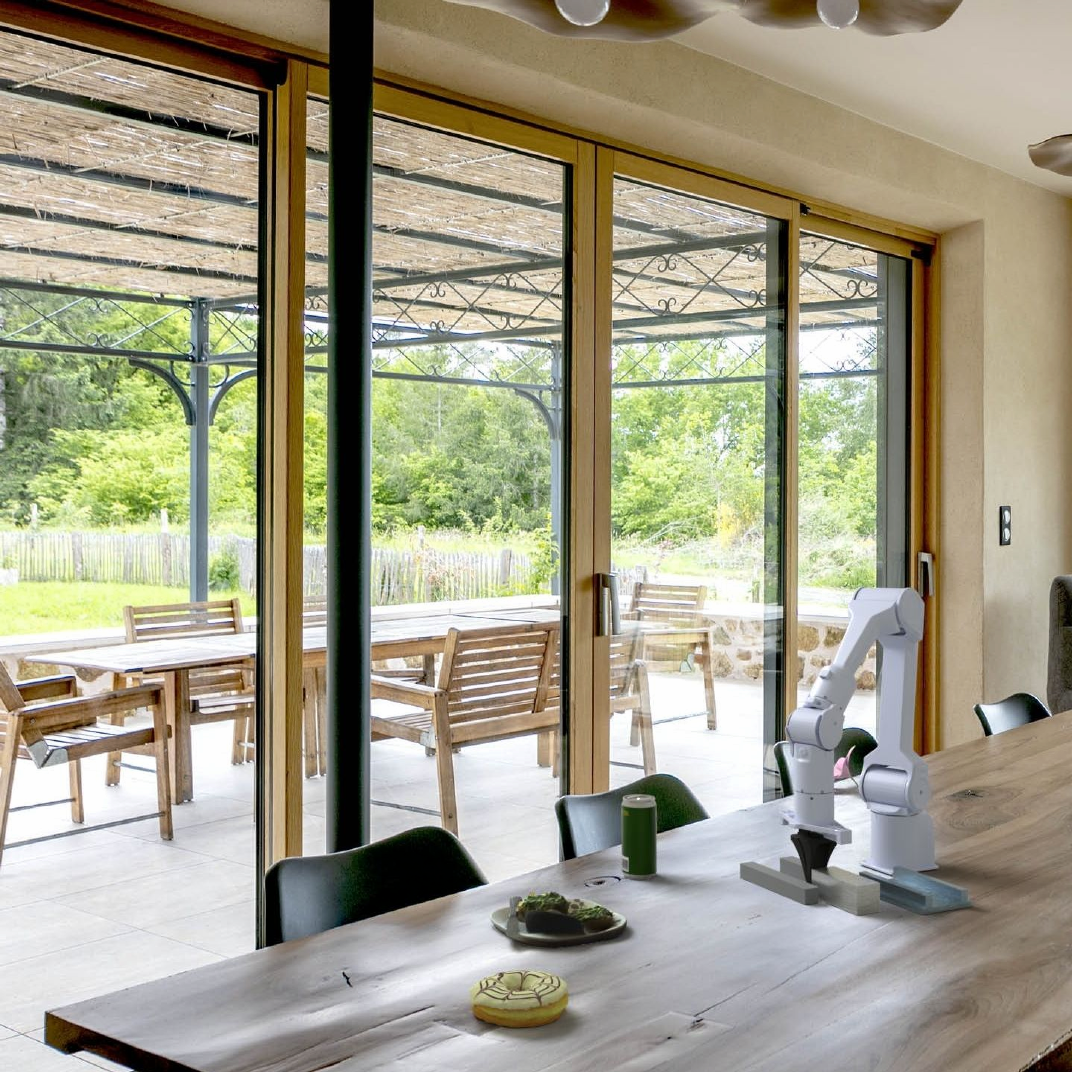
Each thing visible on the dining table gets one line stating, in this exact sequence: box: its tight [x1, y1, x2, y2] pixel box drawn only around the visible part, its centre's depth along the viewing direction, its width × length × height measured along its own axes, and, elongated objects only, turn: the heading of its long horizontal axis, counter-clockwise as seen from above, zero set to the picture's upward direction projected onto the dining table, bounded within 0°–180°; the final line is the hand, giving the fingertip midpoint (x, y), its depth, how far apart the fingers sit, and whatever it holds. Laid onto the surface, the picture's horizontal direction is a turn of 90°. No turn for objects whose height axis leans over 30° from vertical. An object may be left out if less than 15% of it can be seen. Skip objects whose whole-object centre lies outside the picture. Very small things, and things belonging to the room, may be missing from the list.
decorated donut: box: [469, 969, 570, 1029], centre depth 141 cm, size 10×11×4 cm
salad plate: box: [489, 890, 628, 949], centre depth 172 cm, size 19×18×5 cm
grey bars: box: [739, 855, 820, 906], centre depth 190 cm, size 10×16×2 cm, turn 25°
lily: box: [834, 745, 859, 789], centre depth 259 cm, size 12×12×10 cm
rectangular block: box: [812, 865, 881, 916], centre depth 181 cm, size 4×10×4 cm, turn 25°
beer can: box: [620, 793, 658, 881], centre depth 197 cm, size 5×5×12 cm
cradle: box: [858, 866, 973, 916], centre depth 184 cm, size 9×14×2 cm, turn 25°
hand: (814, 883), depth 187 cm, fingers closed
